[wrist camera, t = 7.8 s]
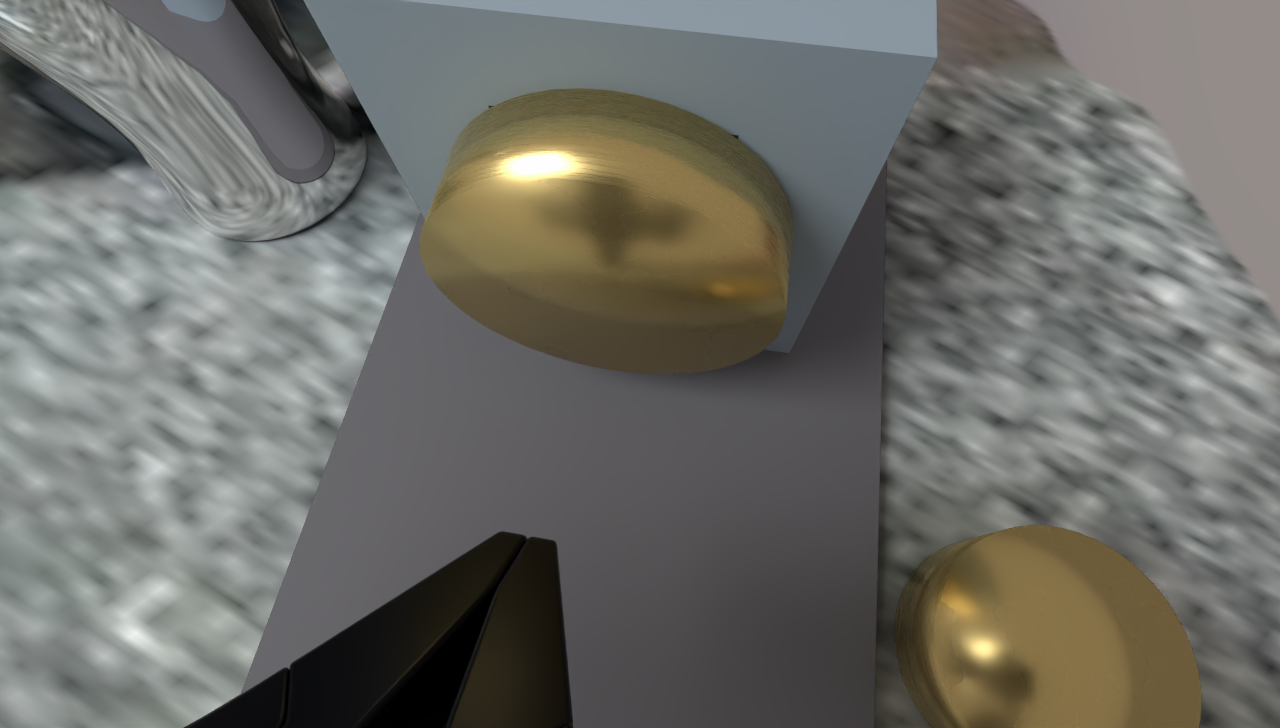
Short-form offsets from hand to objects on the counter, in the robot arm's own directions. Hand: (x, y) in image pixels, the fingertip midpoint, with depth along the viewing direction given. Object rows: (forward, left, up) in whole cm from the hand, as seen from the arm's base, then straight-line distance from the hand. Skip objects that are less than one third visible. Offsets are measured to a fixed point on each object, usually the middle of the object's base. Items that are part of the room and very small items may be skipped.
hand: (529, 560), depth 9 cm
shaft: (+9, -8, -5) cm, 13 cm away
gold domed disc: (-6, -8, -7) cm, 12 cm away
